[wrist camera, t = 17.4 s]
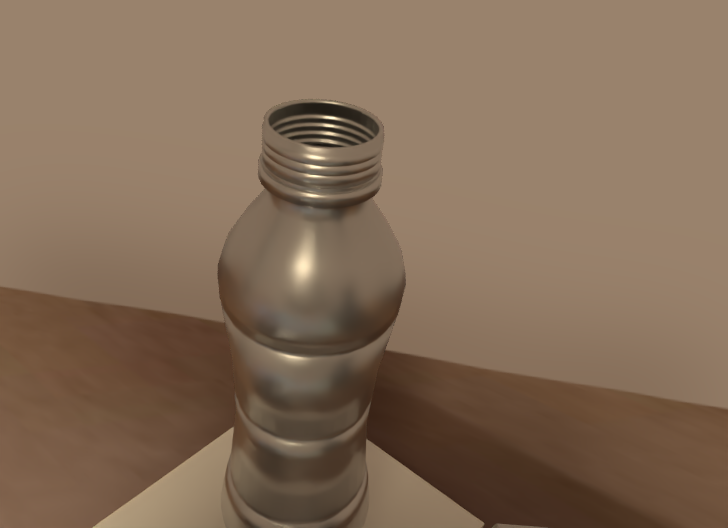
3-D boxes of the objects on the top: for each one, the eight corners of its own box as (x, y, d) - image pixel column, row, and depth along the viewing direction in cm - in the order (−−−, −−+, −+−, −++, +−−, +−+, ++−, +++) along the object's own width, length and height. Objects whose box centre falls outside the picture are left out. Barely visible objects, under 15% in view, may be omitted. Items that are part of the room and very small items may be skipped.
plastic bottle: (213, 603, 27) (194, 168, 16) (229, 468, 33) (224, 74, 22) (367, 601, 28) (452, 184, 17) (358, 470, 34) (418, 90, 22)
